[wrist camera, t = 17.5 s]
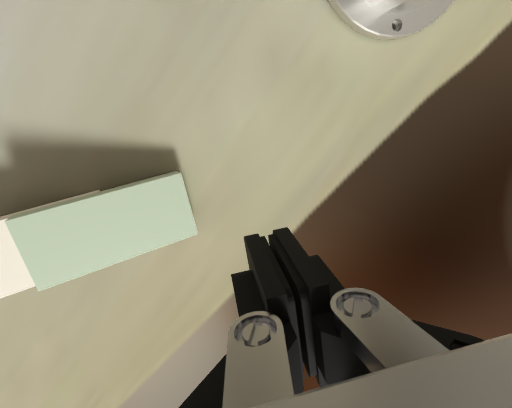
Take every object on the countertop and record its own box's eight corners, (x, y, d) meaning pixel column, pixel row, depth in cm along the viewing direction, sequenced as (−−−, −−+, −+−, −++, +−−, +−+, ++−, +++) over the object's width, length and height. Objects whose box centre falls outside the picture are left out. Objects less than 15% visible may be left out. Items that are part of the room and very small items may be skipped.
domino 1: (99, 193, 22) (-104, 249, 18) (122, 254, 23) (-60, 319, 19) (99, 189, 23) (-89, 241, 19) (121, 248, 25) (-49, 307, 21)
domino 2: (181, 172, 22) (4, 221, 18) (198, 233, 24) (38, 291, 20) (176, 170, 24) (11, 215, 20) (192, 228, 25) (42, 281, 21)
